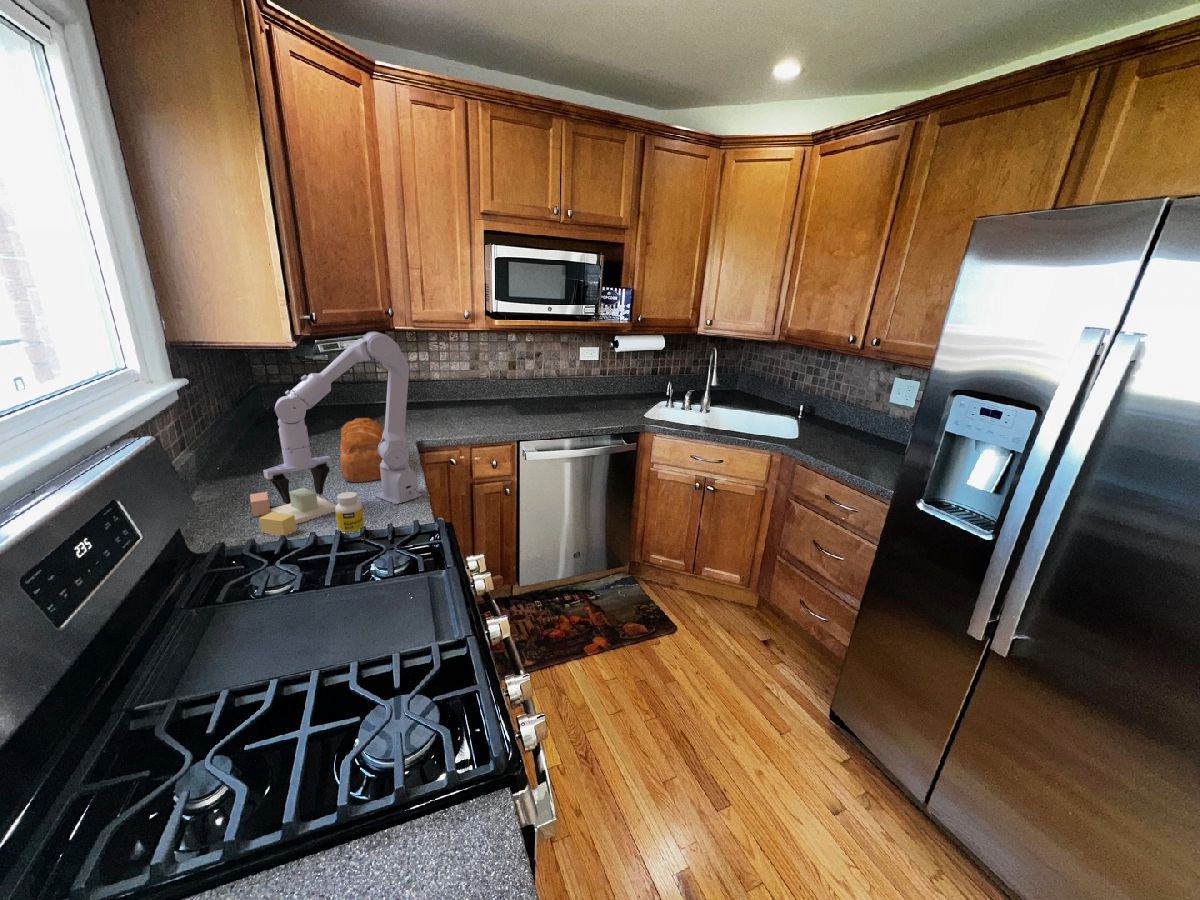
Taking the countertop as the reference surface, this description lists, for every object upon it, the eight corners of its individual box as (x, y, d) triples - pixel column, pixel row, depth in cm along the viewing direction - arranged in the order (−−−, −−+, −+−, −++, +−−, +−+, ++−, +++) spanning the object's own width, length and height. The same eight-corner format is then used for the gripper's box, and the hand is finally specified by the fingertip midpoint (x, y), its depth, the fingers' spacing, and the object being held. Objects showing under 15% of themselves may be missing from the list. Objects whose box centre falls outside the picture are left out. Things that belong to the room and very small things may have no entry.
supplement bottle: (344, 542, 105) (338, 501, 102) (334, 534, 108) (329, 494, 105) (369, 534, 109) (364, 495, 106) (359, 527, 112) (354, 488, 109)
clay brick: (270, 514, 117) (268, 499, 116) (253, 517, 115) (250, 502, 114) (269, 506, 122) (266, 491, 120) (252, 509, 120) (249, 494, 118)
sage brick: (318, 507, 118) (316, 493, 117) (303, 512, 116) (301, 497, 114) (305, 502, 122) (303, 487, 120) (291, 506, 119) (288, 491, 118)
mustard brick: (296, 530, 109) (294, 514, 108) (284, 537, 106) (281, 521, 105) (274, 527, 110) (271, 511, 109) (261, 534, 107) (258, 518, 106)
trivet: (339, 510, 120) (338, 505, 120) (293, 525, 112) (292, 520, 111) (316, 499, 126) (316, 495, 126) (271, 513, 117) (270, 508, 117)
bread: (386, 455, 166) (382, 411, 161) (393, 479, 143) (389, 430, 139) (341, 459, 159) (336, 414, 155) (342, 485, 137) (335, 434, 132)
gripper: (317, 437, 122) (324, 486, 126) (253, 449, 110) (263, 503, 114) (332, 442, 118) (339, 492, 122) (268, 455, 106) (277, 510, 110)
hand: (303, 498), depth 118 cm, fingers open, 7 cm apart
